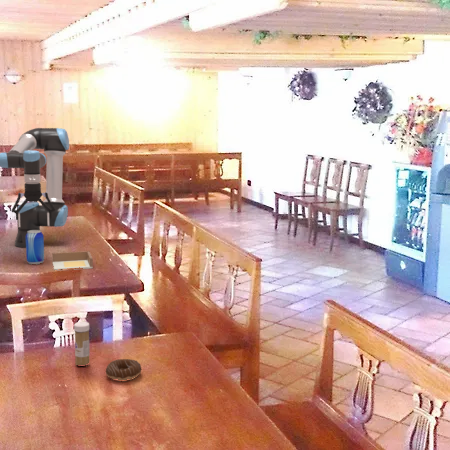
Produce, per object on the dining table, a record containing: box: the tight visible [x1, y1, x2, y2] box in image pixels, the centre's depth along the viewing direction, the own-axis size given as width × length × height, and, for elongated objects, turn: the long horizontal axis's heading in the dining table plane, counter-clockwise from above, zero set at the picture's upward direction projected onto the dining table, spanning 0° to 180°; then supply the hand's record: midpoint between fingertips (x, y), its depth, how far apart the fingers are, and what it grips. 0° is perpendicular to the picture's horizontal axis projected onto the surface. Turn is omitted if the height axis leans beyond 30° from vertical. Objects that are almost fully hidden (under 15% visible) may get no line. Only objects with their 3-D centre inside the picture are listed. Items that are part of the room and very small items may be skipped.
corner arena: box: [51, 250, 94, 271], centre depth 316 cm, size 15×18×5 cm
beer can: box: [25, 230, 45, 265], centre depth 318 cm, size 8×8×16 cm
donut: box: [105, 358, 142, 380], centre depth 193 cm, size 11×11×4 cm
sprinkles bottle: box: [73, 321, 90, 366], centre depth 199 cm, size 5×5×14 cm
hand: (34, 226), depth 316 cm, fingers open, 13 cm apart
